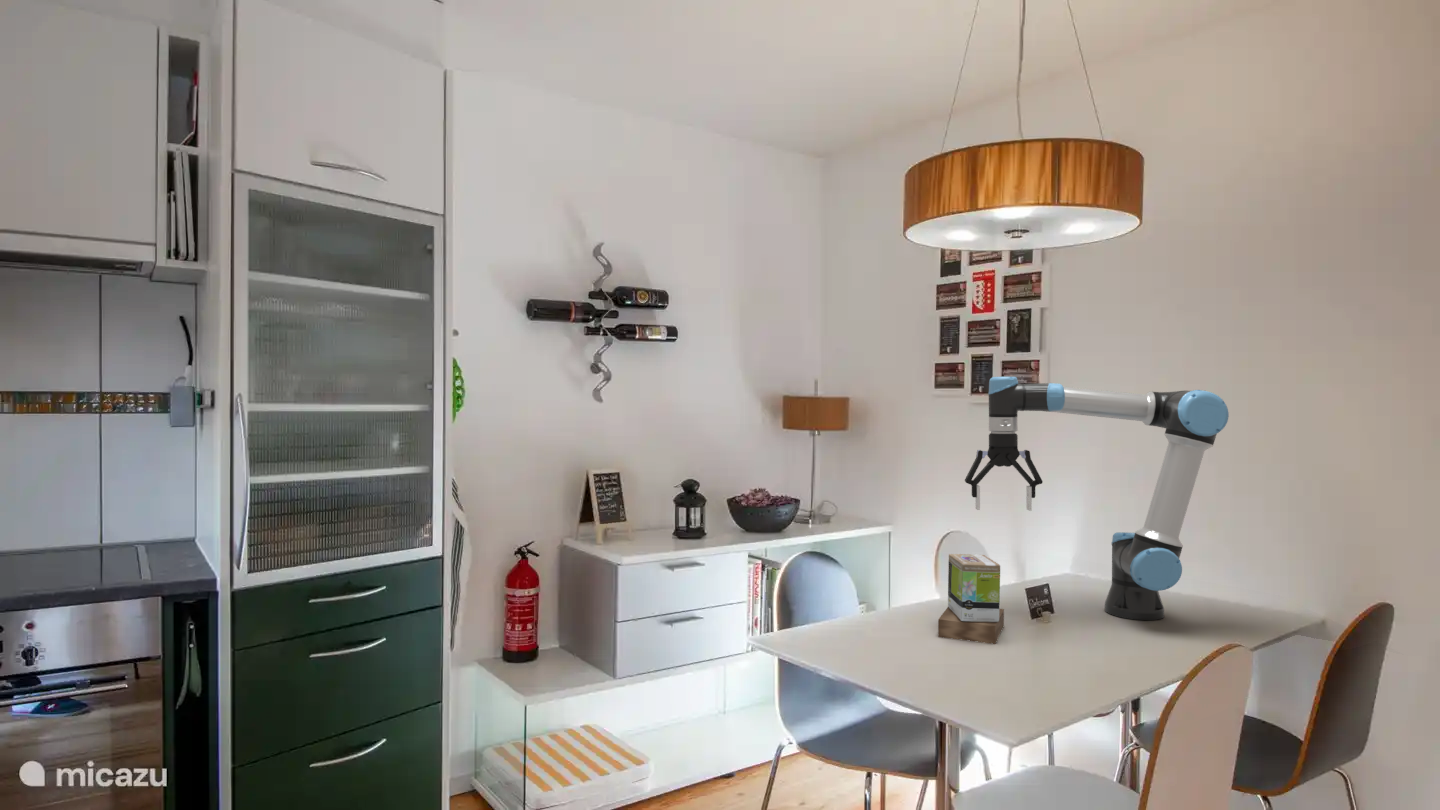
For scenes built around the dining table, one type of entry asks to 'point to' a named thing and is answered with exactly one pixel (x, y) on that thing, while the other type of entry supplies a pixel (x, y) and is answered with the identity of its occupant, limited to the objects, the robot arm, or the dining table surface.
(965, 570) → the tea box
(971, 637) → the walnut block
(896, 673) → the dining table surface
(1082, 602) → the dining table surface
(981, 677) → the dining table surface
